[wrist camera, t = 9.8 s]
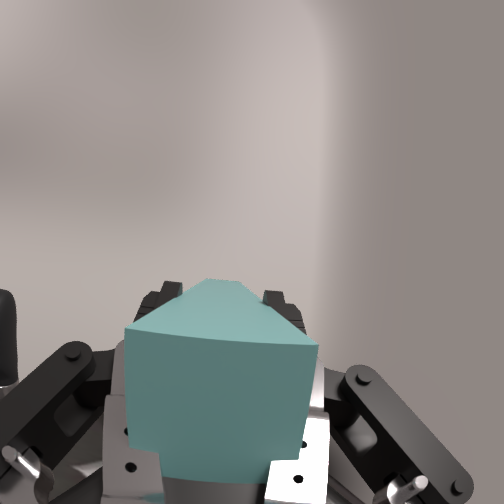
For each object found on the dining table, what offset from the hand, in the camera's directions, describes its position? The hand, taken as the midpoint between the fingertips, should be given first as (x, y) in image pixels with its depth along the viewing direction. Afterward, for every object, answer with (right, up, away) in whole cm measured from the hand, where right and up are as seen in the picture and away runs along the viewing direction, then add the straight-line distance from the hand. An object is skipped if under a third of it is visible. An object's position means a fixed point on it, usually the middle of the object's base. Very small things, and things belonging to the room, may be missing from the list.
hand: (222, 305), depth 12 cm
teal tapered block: (-1, -4, +6) cm, 7 cm away
